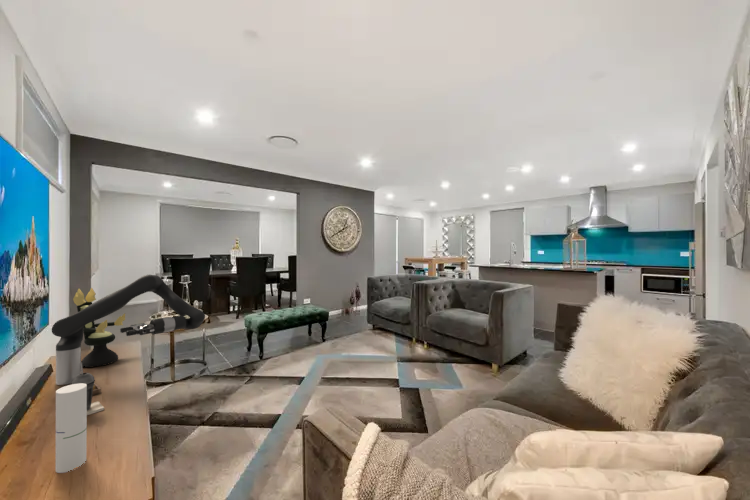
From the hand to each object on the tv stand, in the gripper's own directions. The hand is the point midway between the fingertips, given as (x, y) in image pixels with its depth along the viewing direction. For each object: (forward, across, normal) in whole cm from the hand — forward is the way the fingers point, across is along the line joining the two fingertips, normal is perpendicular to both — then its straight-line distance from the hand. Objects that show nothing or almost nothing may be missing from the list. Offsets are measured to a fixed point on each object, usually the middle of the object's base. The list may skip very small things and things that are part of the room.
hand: (123, 332), depth 146 cm
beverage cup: (+15, +5, +29) cm, 33 cm away
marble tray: (+10, -15, +30) cm, 35 cm away
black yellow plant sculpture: (-3, -61, +30) cm, 68 cm away
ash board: (+15, +5, +30) cm, 34 cm away
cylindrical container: (+25, +44, +30) cm, 59 cm away
